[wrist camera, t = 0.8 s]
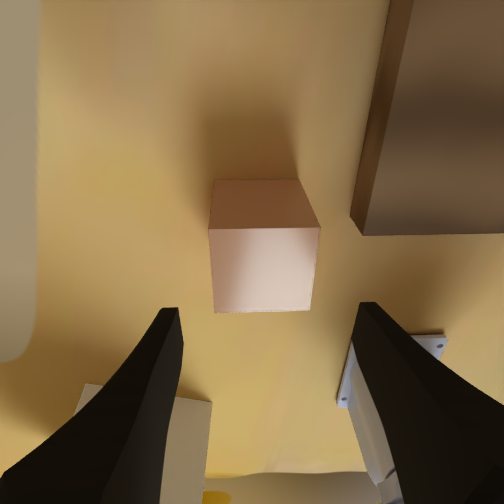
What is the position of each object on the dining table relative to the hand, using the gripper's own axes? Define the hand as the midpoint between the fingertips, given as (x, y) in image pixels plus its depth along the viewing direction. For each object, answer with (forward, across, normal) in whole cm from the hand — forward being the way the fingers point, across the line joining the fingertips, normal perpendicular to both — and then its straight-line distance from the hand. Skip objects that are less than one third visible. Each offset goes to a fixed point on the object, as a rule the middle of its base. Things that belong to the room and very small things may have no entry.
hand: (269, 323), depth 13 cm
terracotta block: (+9, 0, 0) cm, 9 cm away
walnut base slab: (+9, -12, -6) cm, 16 cm away
